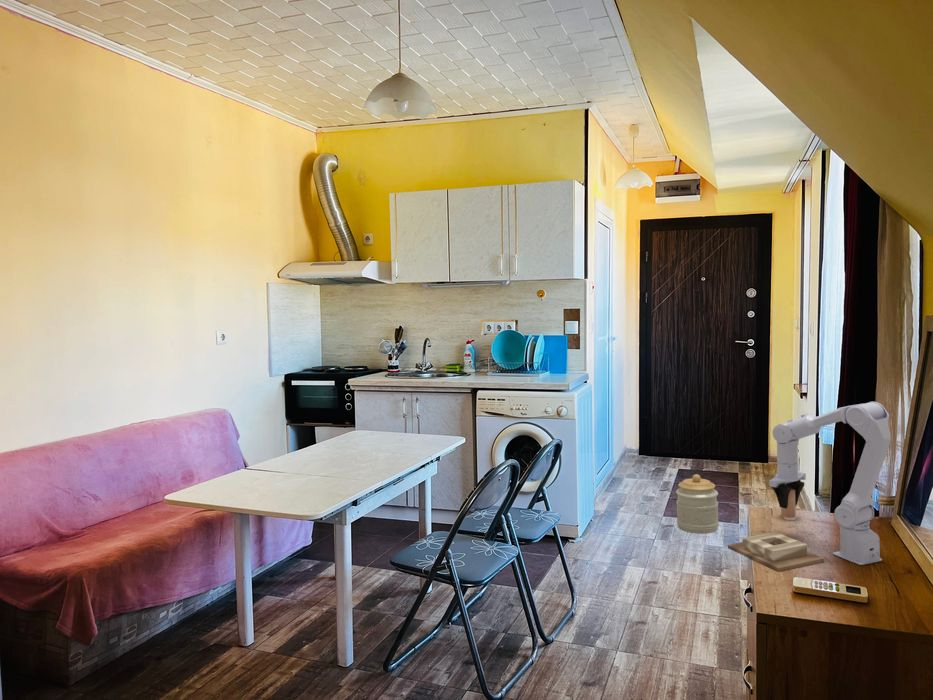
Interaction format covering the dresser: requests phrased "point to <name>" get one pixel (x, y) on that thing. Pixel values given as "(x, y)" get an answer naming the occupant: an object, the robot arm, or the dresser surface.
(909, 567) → the dresser surface
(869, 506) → the robot arm
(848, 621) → the dresser surface
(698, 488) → the jar
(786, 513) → the peg
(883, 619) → the dresser surface
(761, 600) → the dresser surface
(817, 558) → the socket
